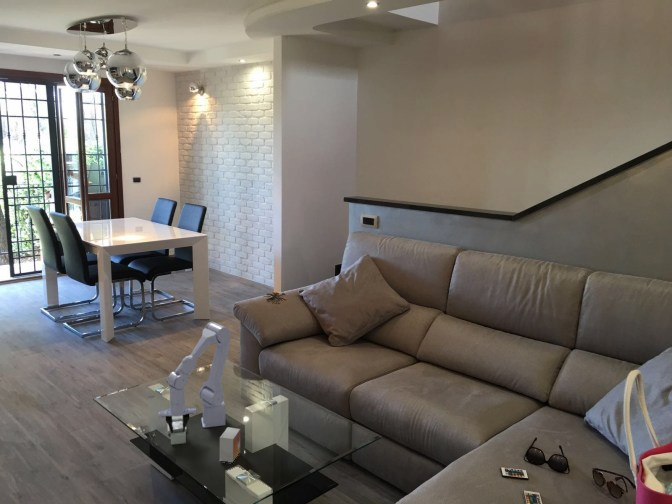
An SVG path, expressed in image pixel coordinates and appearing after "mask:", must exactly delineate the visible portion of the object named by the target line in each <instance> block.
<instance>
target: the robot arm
mask: <svg viewBox="0 0 672 504" xmlns="http://www.w3.org/2000/svg"><path fill="white" fill-rule="evenodd" d="M201 333H202V336H201V337H200V338H199V340H198V342H197V343H196V345H195V347H194V348H193V350H192V351H191V353H190V354H189V355H187V356H184V358H182V360H181V362H180V363H179V365H178V366H177V367H176V369H175V370H174V371H172V372H170V373H169V375H167V379H166V381H165V382H166V384H167V385H168V388H169V409H165V410H162V411H158V419H159V420H161V419H162V418H165V422H166V424H167V423H168V425H169V430H170V435H171V434H172V433H173V429H172V416H182V415H183V432H185V427H186V428H187V424H188V422H189V420H190V418H191V416H190V415H197V409H196V407H185V406H186V405H185V387H186V386H187V385H188V381H189V376H191V374H192V372H193V371H194V370H195V368H196V367H197V365H198V361H197V360H199V358H200V357H201V356H202V355H203V353H204V352H205V351H206V350H207V349H208V347H210V345H216V346H215V351H214V354H213V359H212V362H211V363H212V364H211V367H210V371H209V375H208V380H207V381H204V382H203V384H202V387H201V389H200V390H199V394H198V395H199V398H200V399H201V402H202V417H201V419H200V420H201V424H202V428H205V429H206V428H210V427H211V428H213V427H219V426H220V427H221V426H226V404H225V401H224V392H225V391H224V390H225V389H224V387H223V384H222V380H223V375H224V373H225V368H226V363H227V359H228V355H229V351H230V348H231V335H232V332H231V330H230V329H229V328H228V327H227V326H224V325H222V324H219V323H217V322H215V321H209V322H208V323H207V324H206V326H205V327H204V329H202V332H201ZM185 433H186V432H185Z"/></svg>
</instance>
